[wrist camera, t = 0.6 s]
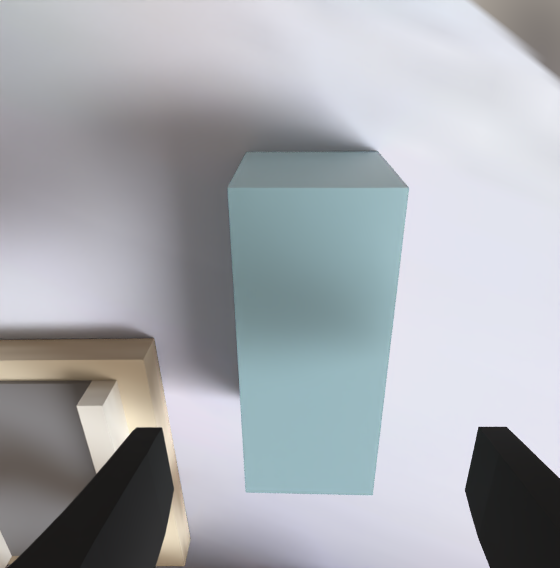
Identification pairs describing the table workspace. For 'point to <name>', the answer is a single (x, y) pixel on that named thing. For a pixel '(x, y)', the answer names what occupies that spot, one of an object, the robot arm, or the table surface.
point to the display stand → (74, 430)
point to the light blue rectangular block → (314, 314)
